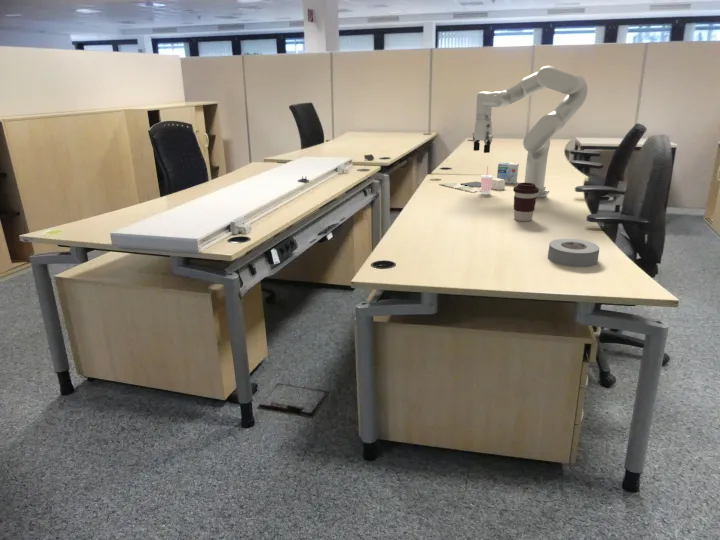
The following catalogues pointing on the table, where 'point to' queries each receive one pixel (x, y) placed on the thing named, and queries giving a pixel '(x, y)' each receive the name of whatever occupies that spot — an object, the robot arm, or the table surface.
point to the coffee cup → (524, 201)
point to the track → (461, 187)
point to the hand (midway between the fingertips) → (481, 151)
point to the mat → (473, 184)
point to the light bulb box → (508, 172)
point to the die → (498, 184)
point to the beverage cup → (486, 183)
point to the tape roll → (573, 252)
